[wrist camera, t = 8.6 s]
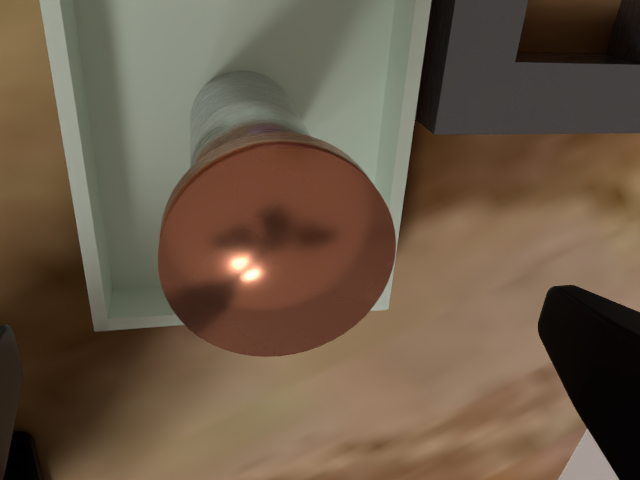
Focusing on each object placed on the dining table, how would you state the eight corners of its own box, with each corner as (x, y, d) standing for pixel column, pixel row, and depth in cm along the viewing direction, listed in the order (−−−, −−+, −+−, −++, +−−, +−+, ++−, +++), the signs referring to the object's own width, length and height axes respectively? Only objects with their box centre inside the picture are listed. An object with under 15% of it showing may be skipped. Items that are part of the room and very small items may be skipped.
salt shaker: (308, 185, 21) (382, 347, 13) (176, 189, 20) (166, 365, 12) (314, 53, 19) (410, 147, 11) (166, 49, 18) (146, 150, 10)
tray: (370, 276, 24) (388, 309, 22) (103, 292, 22) (94, 331, 20) (414, -99, 18) (445, -103, 16) (40, -130, 16) (16, -140, 13)
